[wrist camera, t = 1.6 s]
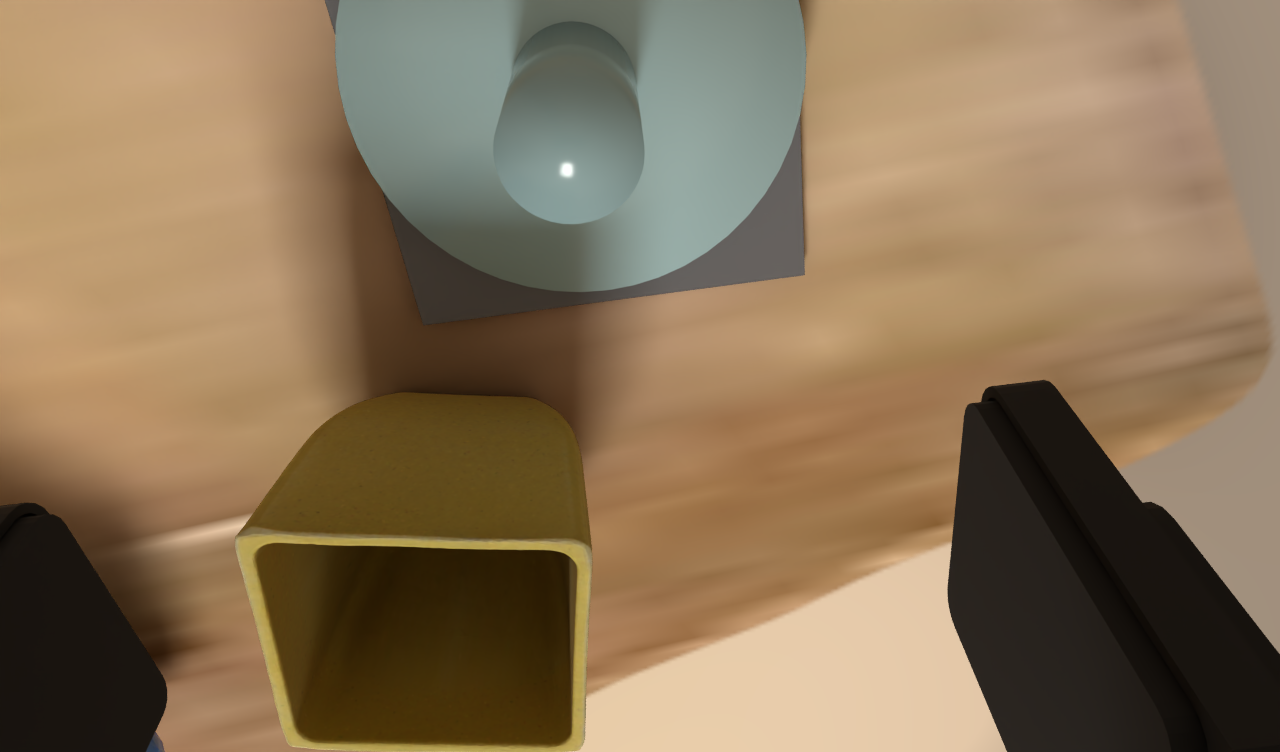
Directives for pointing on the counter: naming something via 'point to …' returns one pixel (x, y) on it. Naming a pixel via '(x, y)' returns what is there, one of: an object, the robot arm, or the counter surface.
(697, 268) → the mat
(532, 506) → the flower pot
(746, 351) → the counter surface
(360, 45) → the lid
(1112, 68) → the counter surface
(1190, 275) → the counter surface
